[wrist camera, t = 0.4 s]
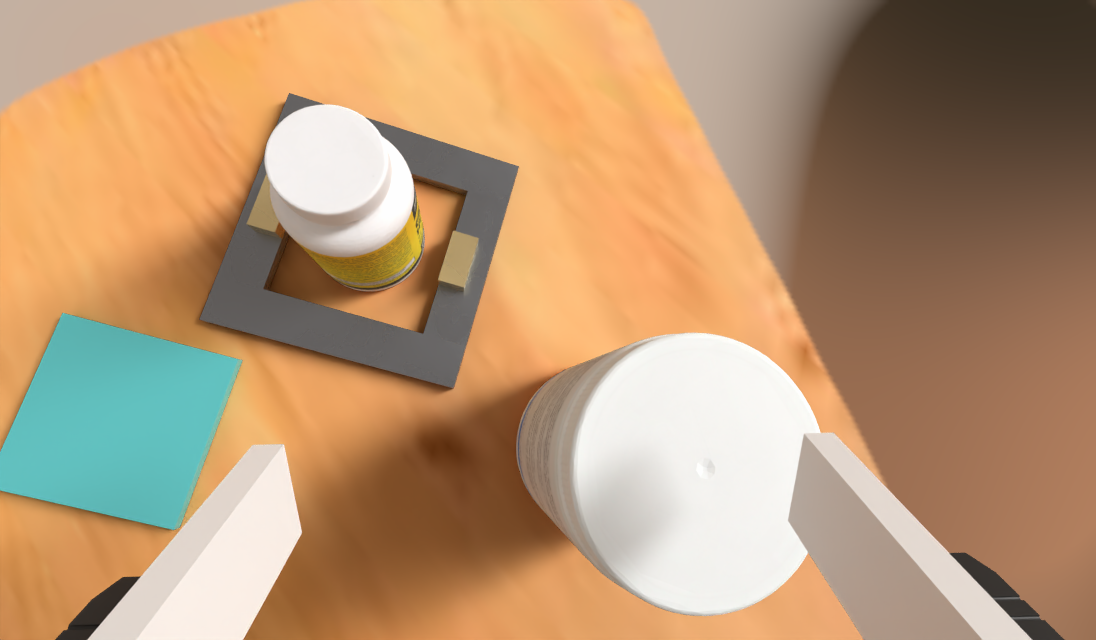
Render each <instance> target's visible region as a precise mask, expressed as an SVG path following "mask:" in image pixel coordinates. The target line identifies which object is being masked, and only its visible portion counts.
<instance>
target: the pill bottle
mask: <svg viewBox="0 0 1096 640" xmlns="http://www.w3.org/2000/svg"><path fill="white" fill-rule="evenodd" d="M264 163H265V170H266V173H267V177H268V179H269V182H270V198H271V202H272V206H273V209H274V212H275V214H276V216H277V218H278V220H279V222H280V223H281V225H282V226H283V228H284V229H285V230H286V232H287V233H288V234H289V235H290V236H291V237H292V238H293V239H294V240H295V241H296V242H297V243H298V244H299V245H300V246H301V247H302V248H303V249H304V250H305V251H306V252H307V253H308V254H309V255H310V256H311V257H312V258H313V259H314V260H315V261H316V263H317V264H318V265H319V266H320V267H321V268H322V269H323V270H324V271H325V272H326V273H327V274H328V275H330V276H331V277H332V278H333V279H334V280H336V281H337V282H339V283H340V284H342V285H344V286H346V287H349V288H351V289H355V290H359V291H380V290H385V289H388V288H391V287H393V286H395V285H397V284H399V283H401V282H402V281H404V280H405V279H406V278H408V277H409V276H410V275H411V274H412V272H413V271H414V270H415V269H416V267H417V266H418V264H419V262H420V260H421V257H422V254H423V250H424V243H425V237H424V228H423V222H422V219H421V215H420V210H419V205H418V201H417V196H416V191H415V187H414V183H413V179H412V175H411V172H410V170H409V167H408V165H407V163H406V161H405V160H404V158H403V156H402V155H401V154H400V152H399V151H398V150H397V149H396V148H395V147H394V146H393V145H392V144H391V143H390V142H389V141H388V140H386V139H385V138H384V137H382V136H381V134H380V133H379V131H378V130H377V129H376V127H375V126H374V125H373V124H372V123H371V122H370V121H369V120H367V119H366V118H365V117H364V116H362V115H360V114H359V113H357V112H355V111H353V110H351V109H348V108H345V107H341V106H337V105H315V106H309V107H305V108H303V109H300V110H298V111H295V112H293V113H292V114H290V115H289V116H287V117H286V118H285V119H283V120H282V121H281V122H280V123H279V124H278V125H277V126H276V128H275V129H274V130H273V132H272V134H271V135H270V137H269V139H268V142H267V145H266V149H265V158H264Z"/></svg>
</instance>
